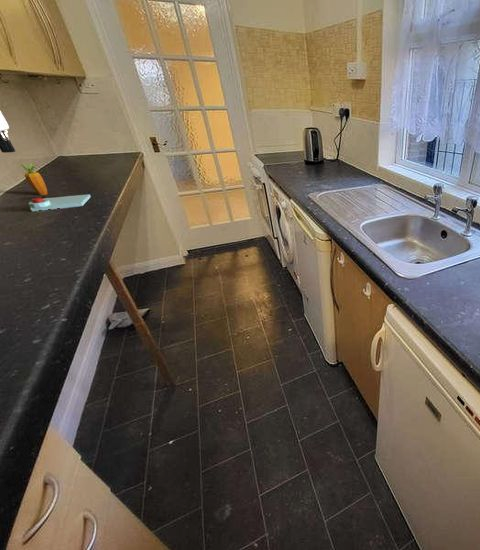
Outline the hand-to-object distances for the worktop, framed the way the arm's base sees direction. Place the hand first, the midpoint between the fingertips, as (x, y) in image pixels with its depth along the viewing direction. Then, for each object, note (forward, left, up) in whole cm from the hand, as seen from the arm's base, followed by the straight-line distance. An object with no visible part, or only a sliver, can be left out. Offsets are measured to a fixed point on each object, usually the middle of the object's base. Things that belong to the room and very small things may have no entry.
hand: (9, 151), depth 109 cm
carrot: (-3, +16, -22) cm, 28 cm away
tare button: (0, 0, -19) cm, 19 cm away
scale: (+6, +4, -22) cm, 23 cm away
